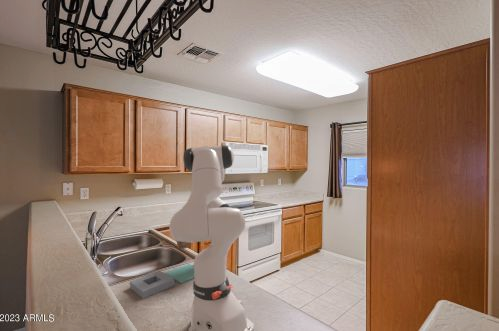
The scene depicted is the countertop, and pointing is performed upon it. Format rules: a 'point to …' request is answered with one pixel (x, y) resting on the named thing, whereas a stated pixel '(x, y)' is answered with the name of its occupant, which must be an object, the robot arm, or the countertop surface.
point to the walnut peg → (183, 244)
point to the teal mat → (182, 273)
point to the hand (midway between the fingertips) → (181, 231)
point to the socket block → (151, 284)
